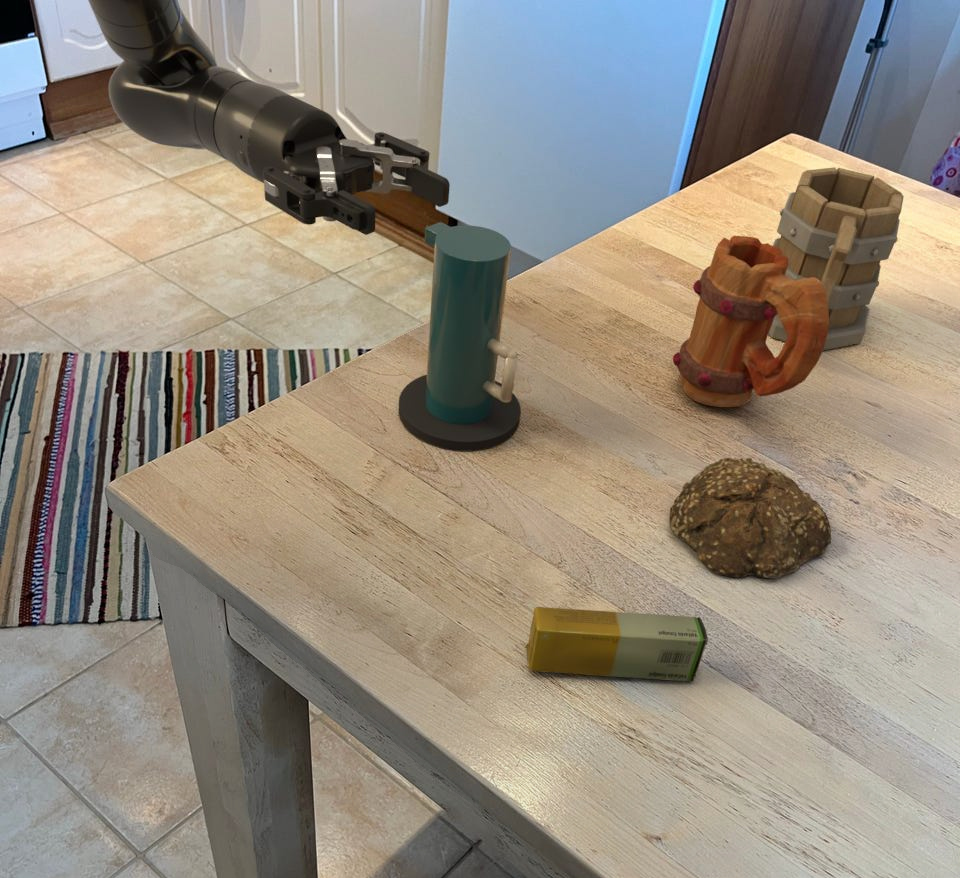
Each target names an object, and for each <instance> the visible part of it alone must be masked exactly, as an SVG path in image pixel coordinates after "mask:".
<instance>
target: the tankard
mask: <svg viewBox="0 0 960 878" xmlns="http://www.w3.org/2000/svg"><path fill="white" fill-rule="evenodd" d="M903 203H904V194H903V193H902V192H901V191H899V190H898V189H896V188H895V187H893V186H892V185H890V184H888V183H887V182H885V180H882V179H881V178H879V177H875V176H874V175H871V174H868V173H864V172H863V173H862V172H859V171H854V170H850V169H846V168H843V167H837V168H836V167H824V168H816V169H806V170H805V171H803V172H802V173H801V175H800V178H799V180H798V183H797V186H796V189H795V191H793V192H790V193H789V195H788V197H787V200H786V202H785V206H784V208H781V209H780V211H779V216H780V219H779V223H778V226H777V229H776V232H777V233H778V235H780V237H779V238H775V239H774V241H773V244H772V246H776V247H778V248H779V249H780V250H781V251H782V255H785V256H786V257H787V258H788V267H787V270H786V274H785V276H786V277H788V278H790V279H792V280H794V281H795V280H800V279H803V278H811V277H815V278H817V279H818V280H819V281H820V282H821V283H822V284H823V286H824V288H825V290H826V296H827V303H828V313H829V324H828V334H827V337H826V341H825V346H824V349H823V351H829V350H832V349H839V348H844V347H849V346H853V344H855V345H859V344H861V342H862V340H863V338H864V336H865V333H866V329H867V324H868V319H869V314H870V308H869V307H868V305H870V304H871V301H872V298H873V295H874V294H875V292H876V289H877V288H878V287H879V286H880V281H879V277H880V272H881V267H882V266H881V261H887V260H889V259H890V258H889V257H890V255H891V253H892V251H893V248H894V246H895V244H896V243H897V242H898V232H899V227H900V223H901V222H900V221H901V219H900V215H901V213H902V208H903ZM768 336H770V337H771V338H772V339H774V340H778V341H781V342H784V343H785V342H786V340H787V334H786V331H785V329H784V327H783V325H782V323H781V320H780V318H779V315H778V314H777V315H776V316H775V317H774V320H773V323H772V326H771V328H770V331H769V333H768ZM848 345H849V346H848ZM843 346H844V347H843ZM838 347H839V348H838Z"/></svg>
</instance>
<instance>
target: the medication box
mask: <svg viewBox="0 0 960 878" xmlns="http://www.w3.org/2000/svg"><path fill="white" fill-rule="evenodd" d="M529 630H530V631H529V637H528V642H527V643H526V645H525V649H526V660H527V665H528V668H529V671H530V672H538V673H539V672H541V673H554V674H555V673H556V674H570V675H571V674H572V675H584V676H585V675H587V676H601V677H617V678H633V679H648V680H649V679H650V680H664V681H665V680H666V681H678V682H679V681H680V682H691V683H693V682H694V681H695V680H696V678H697V673H698V670H699V667H700V664H701V661H702V658H703V654H704V651H705V648H706V646H707V645H708V643H709V638H708V633H707V632H708V631H707V630H706V627H705V625H704V623H703V620H702V618H701V617H700V616H699V617H697V616H687V615H669V614H668V615H667V614H652V613H639V612H638V613H637V612H624V611H623V612H621V611H607V610H606V611H605V610H590V609H577V608H576V609H575V608H563V607H561V608H560V607H559V608H558V607H546V606H545V607H544V606H535V607H534V608H533V615H532V620H531V625H530V629H529Z"/></svg>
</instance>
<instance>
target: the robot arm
mask: <svg viewBox="0 0 960 878" xmlns="http://www.w3.org/2000/svg"><path fill="white" fill-rule="evenodd" d="M87 1H88V3H89V6H90V9H91V10H92V13H93V15H94V17H95V20H96V22H97V24H98V26H99V29H100V31H101V33H102V35H103V38H104V40H105V41H106V42H107V44H108V46H109V47H110V49H111V50H112V51H113V53H114V54H115V55H117V56H118V57H119V58H120V59H121V60H123V61H122V62H121V63H120V64H119V65H118V66H117V67H116V68H115V69H114V71H113V73H112V74H111V76H110V78H109V81H108V97H109V101H110V104H111V106H112V109H113V110H114V113H115V114H116V115H117V117H118V119H120V121H121V122H122V123H123V124H124V125H125V126H126V127H127V128H128V129H129V130H131V131H132V132H133V133H135V134H136V135H138V136H139V137H141V138H143V139H145V140H147V141H150V142H153V143H155V144H158V145H162V146H167V147H175V148H183V149H192V150H205V151H206V150H207V151H209V152H211V153H212V154H214V155H216V156H218V157H220V158H222V159H224V160H226V161H227V162H229V163H231V164H232V165H234V166H235V167H236V168H237V169H239V170H240V171H241V172H242V173H244V174H246V175H247V176H249V177H251V178H253V179H254V180H257V181H259V182H261V184H263V190H264V191H263V193H264V200H265V201H266V202H268V203H269V204H270V205H272V206H274V207H275V208H277V209H279V210H280V211H282V212H283V213H285V214H287V215H288V216H290V217H292V218H294V219H295V220H297V221H298V222H300V223H301V224H303V225H309V226H310V225H314V224H316V223H317V218H322V219H323V220H324V221H326V222H336V221H337V222H338V223H341V224H343V225H344V226H346V227H348V228H350V229H352V230H354V231H357V232H359V233H361V234H363V235H364V236H367V235H370V234H373V233H374V232H376V209H375V207H374V205H372V204H371V203H370V202H367V201H365V200H363V199H362V198H359V197H358V196H355V194H357V193H361V192H366V193H374V194H381V195H388V194H390V193H391V191H393V190H396V191H404V192H411V194H413V195H414V196H416V197H418V198H420V199H422V200H424V201H426V202H429V203H430V204H433V205H434V206H437V207H439V208H440V207H444V206H446V205H448V203H449V202H450V201H449V199H450V185H451V184H450V181H449V180H448V178H447V177H445V176H442V175H441V174H438V173H436V172H435V171H432V170H430V169H429V165H430V164H429V162H430V153H431V152H429V150H426V149H423V148H421V147H419V146H417V145H414V144H411V143H410V142H407V141H404V140H403V139H400V138H397V137H395V136H392V135H391V134H389V133H386V132H384V131H383V132H382V131H379V132H376V133H374V142H373V143H372V144H369V145H368V144H365V143H362V142H360V141H358V140H355V139H348V138H347V137H346V135H345V134H344V132H343V130H342V128H341V127H340V125H339V124H338V122H337V120H336V119H335V118H334V117H333V116H332V114H330V113H329V112H326V111H325V110H322V109H320V108H318V107H317V106H314V105H312V104H310V103H307V102H306V101H303V100H301V99H300V98H297V97H295V96H293V95H291V94H289V93H287V92H284V91H282V90H280V89H279V88H276V87H273V86H270V85H266V84H262V83H259V82H256V81H254V80H251V79H249V78H248V77H246V76H243V75H241V74H239V72H236V71H233V70H232V69H229V68H226V67H222V66H218V63H217V60H216V57H215V56H214V54H213V52H212V50H210V47H209V46H208V45H207V44H206V43H205V41H204V40H203V39H202V38H201V37H200V35H199V34H197V33H198V32H196V31H195V29H194V28H193V26H192V25H191V23H190V22H189V20H188V18H187V16H186V15H185V13H184V12H183V10H182V9H181V8H182V7H180V3H179V0H87ZM376 166H378V167H379V169H380V170H381V173H382V174H381V178H382V179H381V180H375V177H376V176H375V175H376V173H375V171H376V169H375V167H376ZM393 173H394V174H396V175H398V176H400V177H402V178H396V177H394V174H393ZM403 178H404V179H403Z"/></svg>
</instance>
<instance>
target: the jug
mask: <svg viewBox="0 0 960 878" xmlns="http://www.w3.org/2000/svg"><path fill="white" fill-rule="evenodd" d="M424 242H425V243H426V244H427V245H430V246H432V247H434V248H433V249H434V251H433V252H434V253H433V266H432V267H433V268H432V281H431V282H432V284H431V297H430V301H431V302H430V315H429V317H430V318H429V332H428V349H427V350H428V351H427V362H426V363H427V365H426V375H427V379H426V395H425V405H426V408H427V410H428V411H429V412H430V413H431V414H432V415H433V416H434V417H436V418H438V419H440V420H442V421H445V422H449V423H453V424H471V423H476V422H479V421H481V420H483V419H484V418H486V417H487V416H488V415H489V414H490V412H491V409H492V401H493V397H495V398H497V399H499V400H500V401H502V402H504V403H508V402H510V401H511V399H512V393H513V392H514V385H515V379H516V376H515V375H516V370H517V362H518V358H519V357H518V351H517V350H516V349H515V348H512V347H510V346H508V345H507V344H505V343H504V342H502V341H501V333H502V325H503V317H504V309H505V301H506V294H507V293H506V291H507V283H508V276H509V269H510V258H511V250H512V247H511V246H512V244H511V242H510V240H509V239H508V238H507V237H506V236H505V235H504V234H502V233H500V232H498V231H496V230H494V229H491V228H487V227H483V226H479V225H478V226H477V225H468V224H467V225H465V224H464V225H455V226H450V225H447V224H445V223H443V222H442V221H439V222H437V223H434V224H431V225H429V226H426V227H425V230H424ZM499 357H501V358H502V359H504V363H503V371H502V377H501V384H502V386H501V387H500V386H498V385H497V384H495V380H496V376H497V375H496V374H497V369H498V368H497V366H498V359H499ZM513 394H514V393H513Z"/></svg>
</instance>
